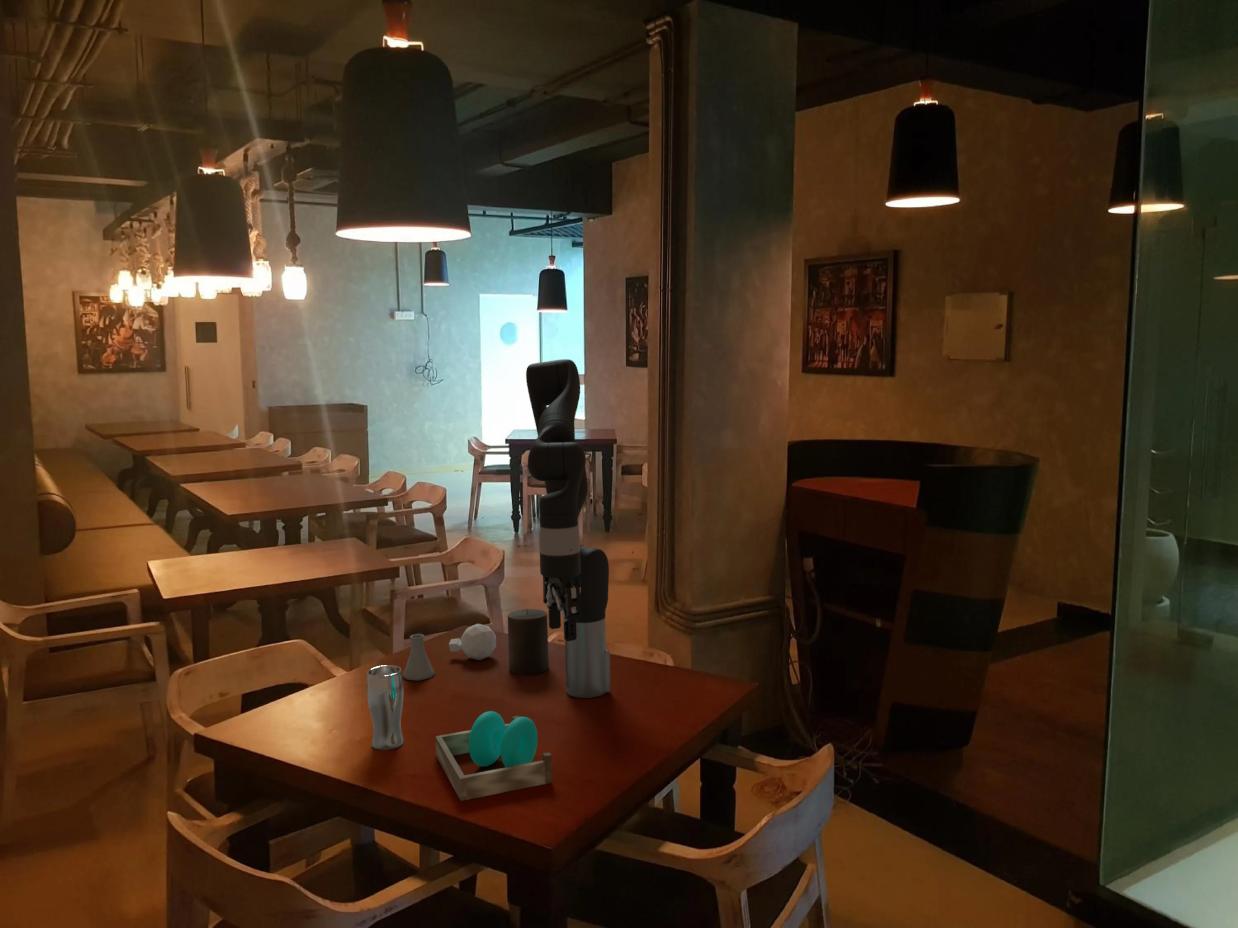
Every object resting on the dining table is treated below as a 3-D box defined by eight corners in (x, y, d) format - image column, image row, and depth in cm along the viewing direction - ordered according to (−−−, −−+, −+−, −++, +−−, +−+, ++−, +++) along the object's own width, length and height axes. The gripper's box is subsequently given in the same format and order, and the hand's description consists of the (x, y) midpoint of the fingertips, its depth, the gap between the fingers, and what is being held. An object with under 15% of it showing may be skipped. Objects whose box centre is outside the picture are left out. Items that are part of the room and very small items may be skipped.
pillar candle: (536, 677, 224) (534, 615, 222) (501, 671, 228) (499, 611, 226) (556, 664, 232) (554, 605, 230) (522, 659, 236) (520, 601, 235)
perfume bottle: (503, 644, 243) (459, 649, 245) (495, 615, 239) (450, 619, 241) (496, 665, 235) (450, 669, 237) (487, 635, 231) (441, 639, 233)
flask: (420, 669, 231) (418, 629, 230) (440, 674, 227) (438, 634, 225) (397, 677, 225) (395, 637, 224) (417, 683, 221) (415, 642, 220)
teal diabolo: (496, 752, 182) (494, 702, 180) (541, 761, 177) (539, 710, 176) (466, 773, 173) (464, 721, 171) (513, 783, 168) (511, 729, 167)
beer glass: (372, 753, 182) (368, 678, 180) (367, 740, 188) (363, 667, 187) (408, 747, 185) (405, 673, 183) (402, 734, 191) (398, 662, 189)
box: (519, 740, 187) (518, 715, 186) (552, 782, 168) (551, 754, 168) (436, 755, 180) (435, 729, 180) (461, 801, 162) (459, 772, 161)
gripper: (592, 554, 170) (595, 641, 172) (565, 540, 183) (568, 621, 185) (553, 559, 167) (556, 647, 169) (528, 544, 180) (531, 626, 182)
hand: (562, 633), depth 177 cm, fingers open, 8 cm apart
